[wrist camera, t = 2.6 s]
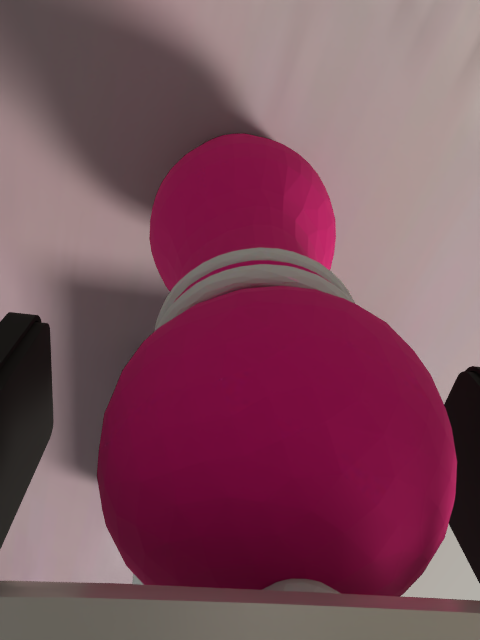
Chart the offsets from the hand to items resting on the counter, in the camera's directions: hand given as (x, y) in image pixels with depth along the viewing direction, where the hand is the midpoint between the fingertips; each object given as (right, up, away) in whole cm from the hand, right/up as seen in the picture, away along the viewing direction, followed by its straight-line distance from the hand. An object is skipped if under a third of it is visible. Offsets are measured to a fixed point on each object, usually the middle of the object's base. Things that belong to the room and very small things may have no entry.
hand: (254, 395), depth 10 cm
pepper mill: (0, +7, +12) cm, 14 cm away
